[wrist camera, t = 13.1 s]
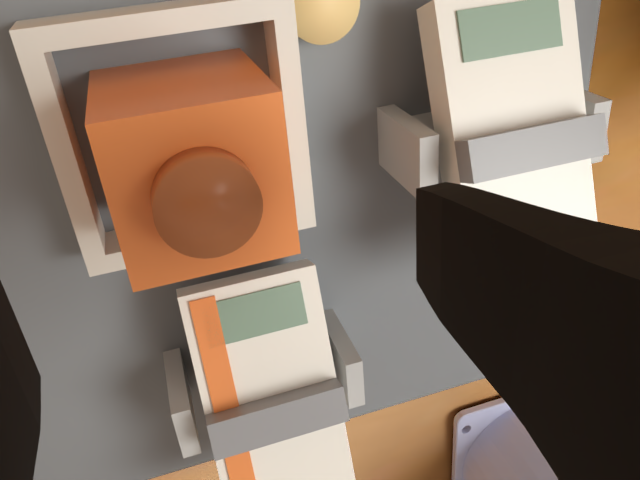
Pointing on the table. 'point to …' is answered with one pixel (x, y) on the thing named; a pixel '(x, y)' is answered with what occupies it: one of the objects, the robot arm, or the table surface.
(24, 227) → the breaker panel
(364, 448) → the table surface
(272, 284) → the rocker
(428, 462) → the table surface
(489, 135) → the rocker
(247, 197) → the cap
